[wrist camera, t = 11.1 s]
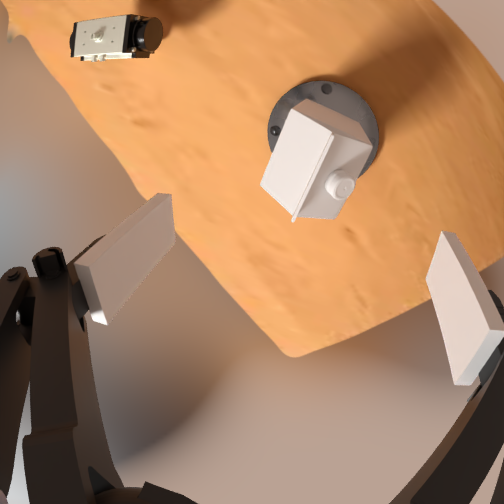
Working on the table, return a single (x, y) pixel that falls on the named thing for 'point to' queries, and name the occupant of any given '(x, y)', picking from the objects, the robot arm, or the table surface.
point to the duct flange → (331, 98)
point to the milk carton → (316, 161)
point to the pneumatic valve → (116, 37)
